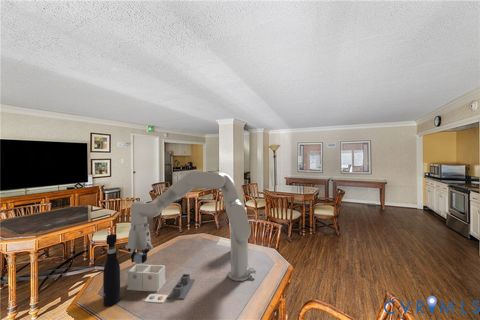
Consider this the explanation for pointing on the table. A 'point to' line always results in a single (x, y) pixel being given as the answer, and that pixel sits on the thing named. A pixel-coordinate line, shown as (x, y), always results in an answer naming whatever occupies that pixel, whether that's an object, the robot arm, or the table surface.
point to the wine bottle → (111, 274)
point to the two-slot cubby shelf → (146, 277)
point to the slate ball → (138, 258)
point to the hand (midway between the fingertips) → (139, 261)
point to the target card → (156, 298)
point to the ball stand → (181, 287)
